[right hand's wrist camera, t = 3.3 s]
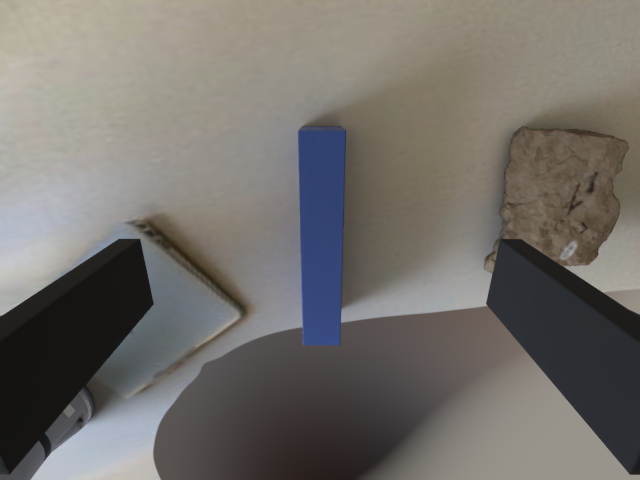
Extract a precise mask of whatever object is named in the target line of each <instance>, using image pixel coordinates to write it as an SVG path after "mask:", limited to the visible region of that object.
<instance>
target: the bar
mask: <svg viewBox="0 0 640 480" xmlns="http://www.w3.org/2000/svg"><path fill="white" fill-rule="evenodd" d="M298 143H299V187H300V231H301V275H302V319H303V345H340V328H341V291H342V254H343V217H344V180H345V143H346V131H345V130H344V129H343V128H342V127H341V126H302V127H301V129H300V130H299V131H298Z"/></svg>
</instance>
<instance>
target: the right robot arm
mask: <svg viewBox="0 0 640 480" xmlns="http://www.w3.org/2000/svg"><path fill="white" fill-rule="evenodd" d="M153 304H154V303H153V298H152V294H151V289H150V284H149V279H148V275H147V270H146V265H145V260H144V256H143V251H142V246H141V241H140V239H118V240H117V241H115V242H114V243H112V244H111V245H109V246H108V247H106V248H104V249H103V250H101V251H100V252H98V253H97V254H95V255H94V256H92V257H91V258H89V259H88V260H86V261H85V262H83V263H82V264H80V265H79V266H77V267H76V268H74V269H73V270H71V271H69V272H68V273H66V274H65V275H63V276H62V277H60V278H59V279H57V280H56V281H54V282H53V283H51V284H50V285H48V286H47V287H45V288H44V289H42V290H41V291H39V292H38V293H36V294H35V295H33V296H31V297H30V298H28V299H27V300H25V301H24V302H22V303H21V304H19V305H18V306H16V307H15V308H13V309H12V310H10V311H9V312H7V313H6V314H4V315H2V316H0V475H10V474H11V473H12V471H13V470H14V469H15V468H16V467H17V466H18V464H19V463H20V462H21V461H22V460H23V458H24V457H25V456H26V455H27V454H28V453H29V451H30V450H31V449H32V448H33V447H34V445H35V444H36V443H37V442H38V441H39V439H40V438H41V437H42V436H43V435H44V434H45V432H46V431H47V430H48V429H49V428H50V426H51V425H52V424H53V423H54V422H55V420H56V419H57V418H58V417H59V416H60V415H61V413H62V412H63V411H64V410H65V409H66V407H67V406H68V405H69V404H70V403H71V402H72V400H73V399H74V398H75V397H76V396H77V394H78V393H79V392H80V391H81V390H82V388H83V387H84V386H85V385H86V384H87V383H88V381H89V380H90V379H91V378H92V377H93V375H94V374H95V373H96V372H97V371H98V369H99V368H100V367H101V366H102V365H103V364H104V362H105V361H106V360H107V359H108V358H109V356H110V355H111V354H112V353H113V352H114V350H115V349H116V348H117V347H118V346H119V345H120V343H121V342H122V341H123V340H124V339H125V337H126V336H127V335H128V334H129V333H130V332H131V330H132V329H133V328H134V327H135V326H136V324H137V323H138V322H139V321H140V320H141V318H142V317H143V316H144V315H145V314H146V313H147V311H148V310H149V309H150V308H151V307H152V305H153ZM486 304H487V305H488V307H489V308H490V309H491V310H492V311H493V313H494V314H495V315H496V316H497V317H498V318H499V320H500V321H501V322H502V323H503V324H504V326H505V327H506V328H507V329H508V330H509V332H510V333H511V334H512V335H513V336H514V337H515V339H516V340H517V341H518V342H519V343H520V345H521V346H522V347H523V348H524V349H525V350H526V352H527V353H528V354H529V355H530V356H531V358H532V359H533V360H534V361H535V362H536V364H537V365H538V366H539V367H540V368H541V369H542V371H543V372H544V373H545V374H546V375H547V377H548V378H549V379H550V380H551V381H552V383H553V384H554V385H555V386H556V387H557V388H558V390H559V391H560V392H561V393H562V394H563V396H564V397H565V398H566V399H567V400H568V402H569V403H570V404H571V405H572V406H573V407H574V409H575V410H576V411H577V412H578V413H579V415H580V416H581V417H582V418H583V419H584V420H585V422H586V423H587V424H588V425H589V426H590V428H591V429H592V430H593V431H594V432H595V434H596V435H597V436H598V437H599V438H600V439H601V441H602V442H603V443H604V444H605V445H606V447H607V448H608V449H609V450H610V451H611V453H612V454H613V455H614V456H615V457H616V458H617V460H618V461H619V462H620V463H621V464H622V466H623V467H624V468H625V469H626V470H627V471H628V473H629V474H630V475H640V315H639V314H637V313H635V312H633V311H630V310H628V309H627V308H625V307H624V306H622V305H621V304H619V303H618V302H616V301H615V300H613V299H611V298H610V297H609V296H607V295H605V294H604V293H602V292H601V291H599V290H598V289H596V288H595V287H593V286H592V285H590V284H589V283H587V282H586V281H584V280H583V279H581V278H580V277H578V276H577V275H575V274H574V273H572V272H571V271H569V270H567V269H566V268H564V267H563V266H561V265H560V264H558V263H557V262H555V261H554V260H552V259H551V258H549V257H548V256H546V255H545V254H543V253H542V252H540V251H539V250H537V249H536V248H534V247H532V246H531V245H529V244H528V243H526V242H525V241H523V240H522V239H500V241H499V246H498V251H497V255H496V260H495V265H494V270H493V274H492V279H491V284H490V289H489V294H488V298H487V303H486Z"/></svg>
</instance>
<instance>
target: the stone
mask: <svg viewBox="0 0 640 480" xmlns="http://www.w3.org/2000/svg"><path fill="white" fill-rule="evenodd" d="M628 149H629V146H628V143H627V142H626V141H625V140H621V139H618V138H615V137H614V136H610V135H604V134H600V133H595V132H591V131H582V130H577V129H575V130H571V129H569V130H565V131H563V130H560V129H551V130H547V129H540V130H536V129H532V130H529V129H528V128H527V127H524V126H522V127H521V128H519V129H518V131H516V132H515V133H514V135H513V139H512V140H511V144H510V151H509V157H510V161H509V163H508V165H507V168H506V170H505V171H504V178H505V183H506V185H505V192H504V195H503V203H502V206H501V208H500V210H499V215H500V216H502V217H503V219H504V220H503V222H502V227H503V229H502V230H501V232H500V238H499V239H498V240H497V241H496V242H495V244H494V246H493V252H492V253H491V254H489V255H488V256H487V257H486V258H485V265H484V269H485V270H487V271H489V272H492V273H493V270H494V265H495V260H496V255H497V251H498V246H499V241H500V239H522V240H523V241H525V242H526V243H528V244H529V245H531V246H532V247H534V248H536V249H537V250H539V251H540V252H542V253H543V254H545V255H546V256H548V257H549V258H551V259H552V260H554V261H555V262H557V263H558V264H560V265H561V266H572V265H573V266H576V265H589V264H590V263H591V262H592V261H593V260H594V259H595V258H596V257H597V256H598V249H599V247H600V246H601V244H602V243H603V242H604V241H606V240H607V237H608V236H609V235H610V233H611V232H612V230H613V228H614V226H615V224H616V221H617V219H618V216H619V210H620V203H619V200H618V199H617V198H616V197H615V195H614V194H613V185H612V179H613V177H614V176H615V175H616V174H617V173H618V172H620V171H621V170H622V161H623V158H624V156H625V154H626V152H627V151H628Z"/></svg>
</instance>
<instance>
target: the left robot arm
mask: <svg viewBox="0 0 640 480" xmlns="http://www.w3.org/2000/svg"><path fill="white" fill-rule="evenodd" d="M93 410H94V404H93V400H92V397H91V395H90V393H89V392H88V390H87V389H86V388H85V387H83V388H82V390H81V391H80V392H79V393H78V394H77V396H76V397H75V398H74V399H73V400H72V402H71V403H70V404H69V405H68V406H67V407H66V409H65V410H64V411H63V412H62V413H61V415H60V416H59V417H58V418H57V419H56V420H55V422H54V423H53V424H52V425H51V426H50V428H49V429H48V430H47V431H46V432H45V434H44V435H43V436H42V437H41V438H40V439H39V441H38V442H37V443H36V444H35V445H34V447H33V448H32V449H31V450H30V451H29V453H28V454H27V455H26V456H25V457H24V458H23V460H22V461H21V462H20V463H19V464H18V466H17V467H16V468H15V469H14V470H13V471H12V473H11V474H10V475H0V480H30V479H31V478H32V477H33V475H34V474H35V473H36V471H37V470H38V469H39V468H40V466H41V465H42V464H43V462H44V461H45V460H46V458H47V457H48V456H49V455H50V453H51V452H52V451H54V450H55V449H56V448H57V447H59V446H60V445H61V444H63V443H64V442H65V441H67V440H68V439H69V438H70V437H72V436H73V435H74V434H76V433H77V432H78V431H79V430H80V429H82V428H83V427H84V426H85V424H86V423H87V422H88V420H89V419H90V418H91V416H92V414H93Z"/></svg>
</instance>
